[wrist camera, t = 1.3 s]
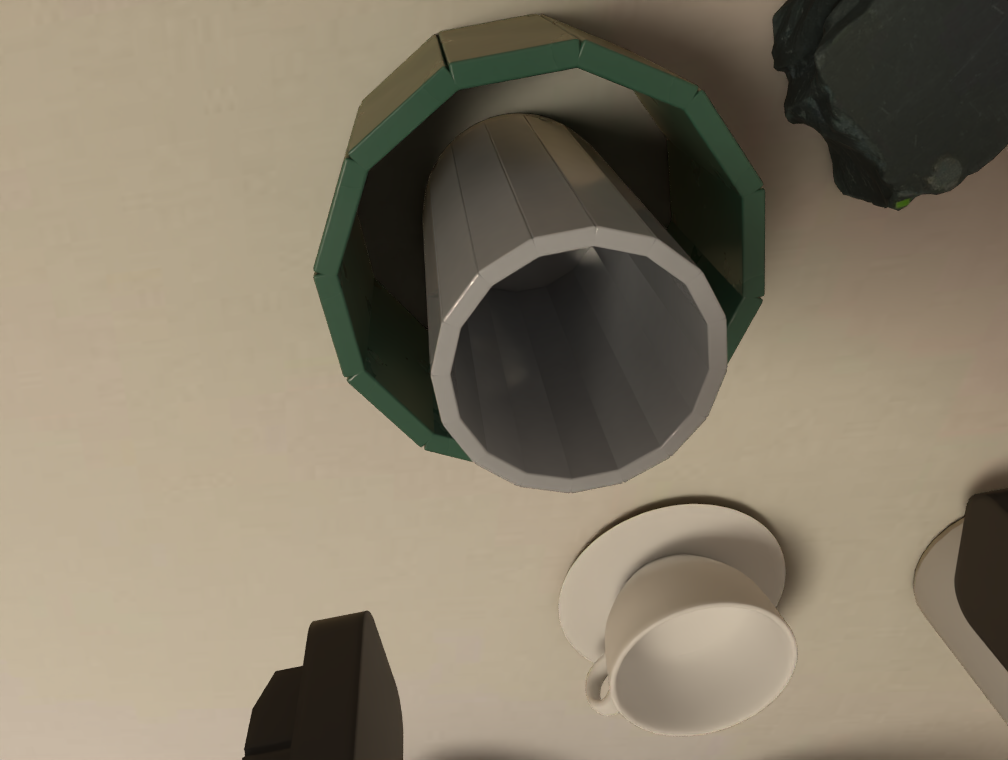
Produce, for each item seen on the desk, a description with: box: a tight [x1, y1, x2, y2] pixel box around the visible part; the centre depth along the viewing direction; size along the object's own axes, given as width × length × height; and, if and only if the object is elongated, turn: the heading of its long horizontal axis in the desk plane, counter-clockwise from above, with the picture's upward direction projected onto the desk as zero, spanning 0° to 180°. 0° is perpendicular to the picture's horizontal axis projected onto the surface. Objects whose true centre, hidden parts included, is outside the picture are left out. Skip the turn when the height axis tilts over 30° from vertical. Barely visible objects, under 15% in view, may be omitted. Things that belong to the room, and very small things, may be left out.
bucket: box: [313, 14, 765, 462], centre depth 23 cm, size 11×11×6 cm
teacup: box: [558, 504, 798, 736], centre depth 32 cm, size 10×10×5 cm
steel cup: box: [422, 113, 728, 493], centre depth 21 cm, size 6×6×11 cm
